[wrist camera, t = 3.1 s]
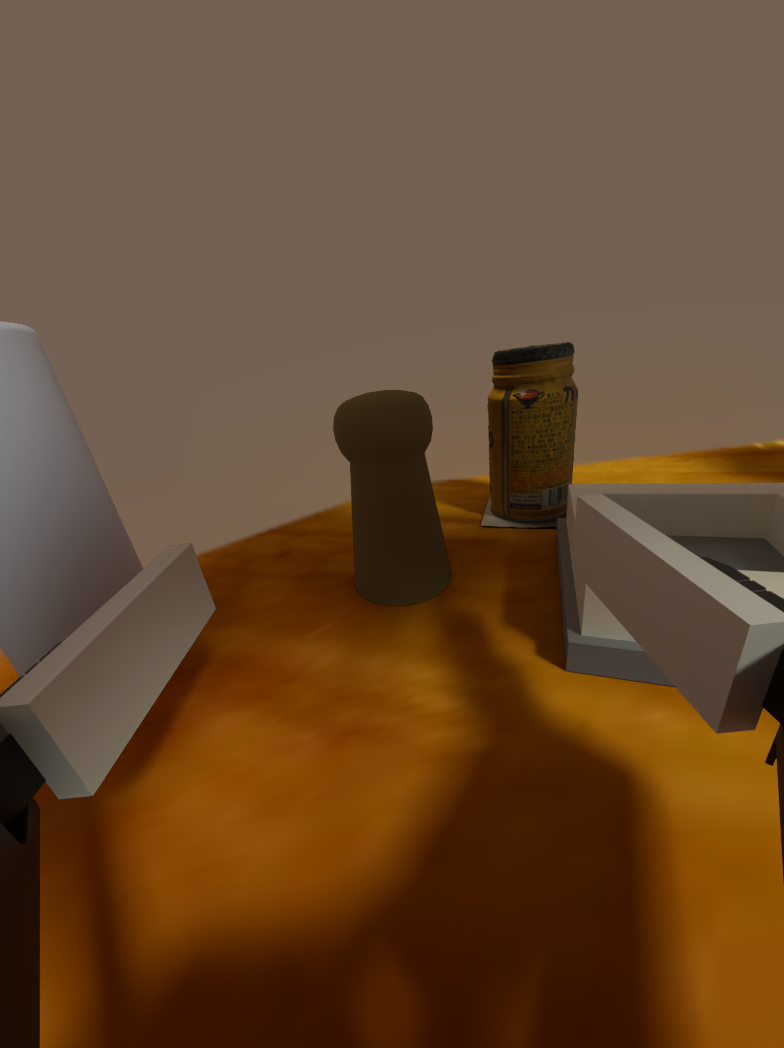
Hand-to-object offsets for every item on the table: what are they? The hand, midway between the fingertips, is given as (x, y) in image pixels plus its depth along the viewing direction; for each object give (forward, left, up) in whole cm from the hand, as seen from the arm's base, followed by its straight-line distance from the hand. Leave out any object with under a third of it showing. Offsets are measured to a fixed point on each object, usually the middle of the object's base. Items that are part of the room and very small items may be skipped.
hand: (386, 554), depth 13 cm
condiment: (-5, -19, -7) cm, 21 cm away
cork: (+3, -8, -7) cm, 11 cm away
